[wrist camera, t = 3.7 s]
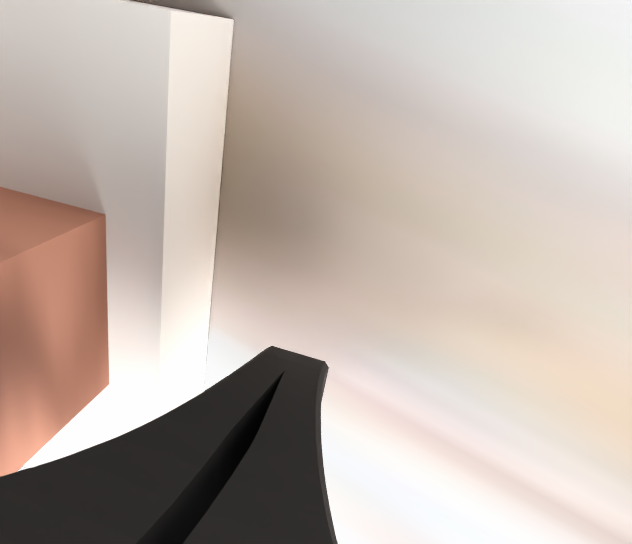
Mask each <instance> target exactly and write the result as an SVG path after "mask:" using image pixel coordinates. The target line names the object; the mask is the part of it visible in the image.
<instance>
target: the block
mask: <svg viewBox="0 0 632 544" xmlns="http://www.w3.org/2000/svg"><path fill="white" fill-rule="evenodd" d="M108 385H109V348H108V302H107V256H106V214H102V213H98V212H94V211H91V210H87V209H83V208H79V207H76V206H72V205H68V204H64V203H60V202H57V201H53V200H49V199H45V198H41V197H38V196H34V195H30V194H26V193H22V192H19V191H15V190H11V189H7V188H3V187H0V477H1V476H4V475H8V474H11V473H15V472H17V471H18V470H19V469H20V468H21V467H22V466H23V465H24V464H25V463H27V462H28V461H29V460H30V459H31V458H32V457H33V456H34V455H35V454H36V453H37V452H38V451H39V450H40V449H41V448H42V447H43V446H44V445H46V444H47V443H48V442H49V441H50V440H51V439H52V438H53V437H54V436H55V435H56V434H57V433H58V432H59V431H60V430H61V429H62V428H64V427H65V426H66V425H67V424H68V423H69V422H70V421H71V420H72V419H73V418H74V417H75V416H76V415H77V414H78V413H79V412H80V411H81V410H83V409H84V408H85V407H86V406H87V405H88V404H89V403H90V402H91V401H92V400H93V399H94V398H95V397H96V396H97V395H98V394H99V393H100V392H102V391H103V390H104V389H105V388H106V387H107V386H108Z"/></svg>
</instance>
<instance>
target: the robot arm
mask: <svg viewBox="0 0 632 544" xmlns="http://www.w3.org/2000/svg"><path fill="white" fill-rule="evenodd" d="M328 368H329V367H328V366H327V364H326V363H325V361H321V360H318V359H314V358H311V357H308V356H304V355H301V354H298V353H294V352H291V351H287V350H284V349H281V348H277V347H274V346H271V347H269V348H267V349H265V350H264V351H262V352H261V353H260V354H258V355H257V356H256V357H254V358H253V359H251V360H250V361H249V362H247V363H246V364H244V365H243V366H242V367H240V368H239V369H237V370H236V371H234V372H233V373H232V374H230V375H229V376H227V377H225V378H224V379H222V380H221V381H219V382H218V383H216V384H215V385H213V386H212V387H210V388H209V389H207V390H205V391H204V392H202V393H201V394H199V395H197V396H196V397H194V398H192V399H190V400H189V401H187V402H185V403H183V404H182V405H180V406H178V407H176V408H175V409H173V410H171V411H169V412H167V413H166V414H164V415H162V416H160V417H158V418H156V419H154V420H152V421H150V422H148V423H146V424H144V425H142V426H140V427H138V428H135V429H133V430H131V431H129V432H127V433H125V434H122V435H120V436H118V437H115V438H113V439H110V440H108V441H105V442H103V443H100V444H97V445H95V446H92V447H89V448H87V449H84V450H82V451H79V452H76V453H74V454H71V455H69V456H66V457H63V458H60V459H57V460H54V461H51V462H47V463H44V464H41V465H38V466H35V467H32V468H28V469H25V470H21V471H18V472H15V473H11V474H8V475H4V476H1V477H0V544H337V540H336V536H335V532H334V527H333V522H332V517H331V512H330V507H329V501H328V495H327V490H326V483H325V476H324V467H323V457H322V445H321V401H322V396H323V392H324V387H325V382H326V378H327V373H328Z"/></svg>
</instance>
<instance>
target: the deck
mask: <svg viewBox="0 0 632 544" xmlns="http://www.w3.org/2000/svg"><path fill="white" fill-rule="evenodd" d="M233 26H234V19H228V18H223V17H217V16H212V15H207V14H201V13H196V12H190V11H185V10H179V9H174V8H168V7H163V6H158V5H152V4H147V3H141V2H136V1H130V0H0V187H3V188H7V189H11V190H15V191H19V192H22V193H26V194H30V195H34V196H38V197H41V198H45V199H49V200H53V201H57V202H60V203H64V204H68V205H72V206H76V207H79V208H83V209H87V210H91V211H94V212H98V213H102V214H106V256H107V302H108V348H109V385H108V386H107V387H106V388H105V389H104V390H103V391H102V392H100V393H99V394H98V395H97V396H96V397H95V398H94V399H93V400H92V401H91V402H90V403H89V404H88V405H87V406H86V407H85V408H84V409H83V410H81V411H80V412H79V413H78V414H77V415H76V416H75V417H74V418H73V419H72V420H71V421H70V422H69V423H68V424H67V425H66V426H65V427H64V428H62V429H61V430H60V431H59V432H58V433H57V434H56V435H55V436H54V437H53V438H52V439H51V440H50V441H49V442H48V443H47V444H46V445H44V446H43V447H42V448H41V449H40V450H39V451H38V452H37V453H36V454H35V455H34V456H33V457H32V458H31V459H30V460H29V461H28V462H27V463H25V464H24V465H25V466H28V467H30V468H32V467H35V466H38V465H41V464H44V463H47V462H51V461H54V460H57V459H60V458H63V457H66V456H69V455H71V454H74V453H76V452H79V451H82V450H84V449H87V448H89V447H92V446H95V445H97V444H100V443H103V442H105V441H108V440H110V439H113V438H115V437H118V436H120V435H122V434H125V433H127V432H129V431H131V430H133V429H135V428H138V427H140V426H142V425H144V424H146V423H148V422H150V421H152V420H154V419H156V418H158V417H160V416H162V415H164V414H166V413H167V412H169V411H171V410H173V409H175V408H176V407H178V406H180V405H182V404H183V403H185V402H187V401H189V400H190V399H192V398H194V397H196V396H197V395H199V394H201V393H202V392H204V381H205V369H206V357H207V344H208V332H209V320H210V308H211V295H212V283H213V271H214V259H215V246H216V234H217V222H218V209H219V197H220V185H221V173H222V160H223V148H224V136H225V124H226V111H227V99H228V87H229V75H230V62H231V50H232V38H233Z"/></svg>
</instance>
